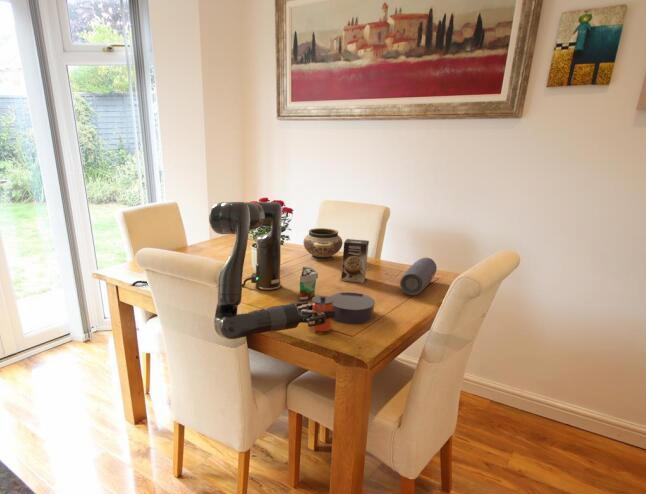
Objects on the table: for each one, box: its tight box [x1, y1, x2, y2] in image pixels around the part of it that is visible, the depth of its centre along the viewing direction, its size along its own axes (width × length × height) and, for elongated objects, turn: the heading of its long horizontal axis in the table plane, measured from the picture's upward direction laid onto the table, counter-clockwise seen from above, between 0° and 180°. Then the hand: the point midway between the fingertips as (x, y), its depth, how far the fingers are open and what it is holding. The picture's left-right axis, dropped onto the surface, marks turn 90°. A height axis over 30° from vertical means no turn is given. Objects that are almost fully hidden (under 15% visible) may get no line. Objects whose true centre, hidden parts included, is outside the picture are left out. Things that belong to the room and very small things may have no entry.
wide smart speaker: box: [329, 292, 376, 324], centre depth 155 cm, size 15×15×5 cm
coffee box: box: [340, 238, 370, 284], centre depth 185 cm, size 9×6×16 cm
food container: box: [299, 266, 319, 302], centre depth 170 cm, size 12×6×10 cm, turn 168°
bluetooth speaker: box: [399, 257, 438, 296], centre depth 175 cm, size 23×9×10 cm, turn 147°
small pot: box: [311, 295, 334, 332], centre depth 143 cm, size 7×7×10 cm
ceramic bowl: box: [303, 227, 344, 262], centre depth 215 cm, size 24×18×15 cm
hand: (328, 309), depth 144 cm, fingers closed on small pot, 6 cm apart
